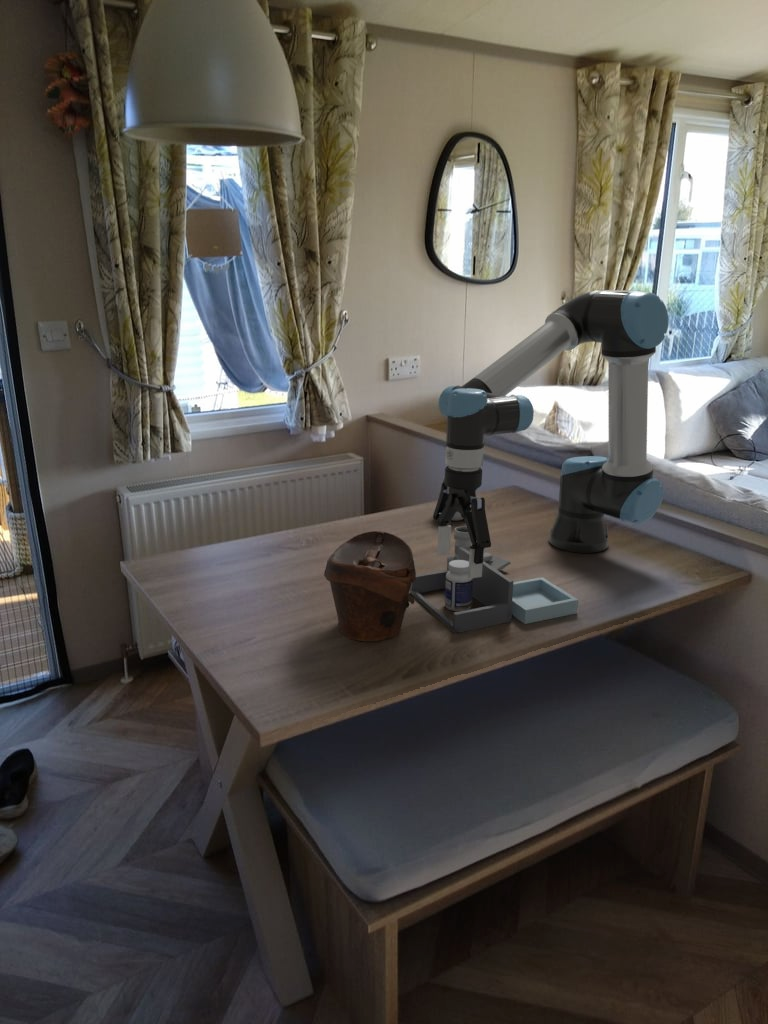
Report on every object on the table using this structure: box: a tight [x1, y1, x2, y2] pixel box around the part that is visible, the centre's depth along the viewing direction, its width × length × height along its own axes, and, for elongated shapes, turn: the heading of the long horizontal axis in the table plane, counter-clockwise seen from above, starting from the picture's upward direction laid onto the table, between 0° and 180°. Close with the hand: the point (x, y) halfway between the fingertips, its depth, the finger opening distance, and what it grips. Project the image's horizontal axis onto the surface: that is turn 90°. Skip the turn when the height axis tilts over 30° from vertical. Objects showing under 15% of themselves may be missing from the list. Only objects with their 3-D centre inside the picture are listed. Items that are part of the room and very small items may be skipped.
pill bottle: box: [444, 560, 473, 612], centre depth 158 cm, size 6×6×10 cm
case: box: [323, 530, 417, 643], centre depth 147 cm, size 18×20×18 cm
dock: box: [409, 547, 515, 634], centre depth 158 cm, size 21×13×9 cm, turn 23°
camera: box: [446, 526, 511, 572], centre depth 176 cm, size 9×12×15 cm
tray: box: [511, 576, 579, 625], centre depth 160 cm, size 13×13×3 cm
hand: (458, 565), depth 157 cm, fingers open, 13 cm apart
